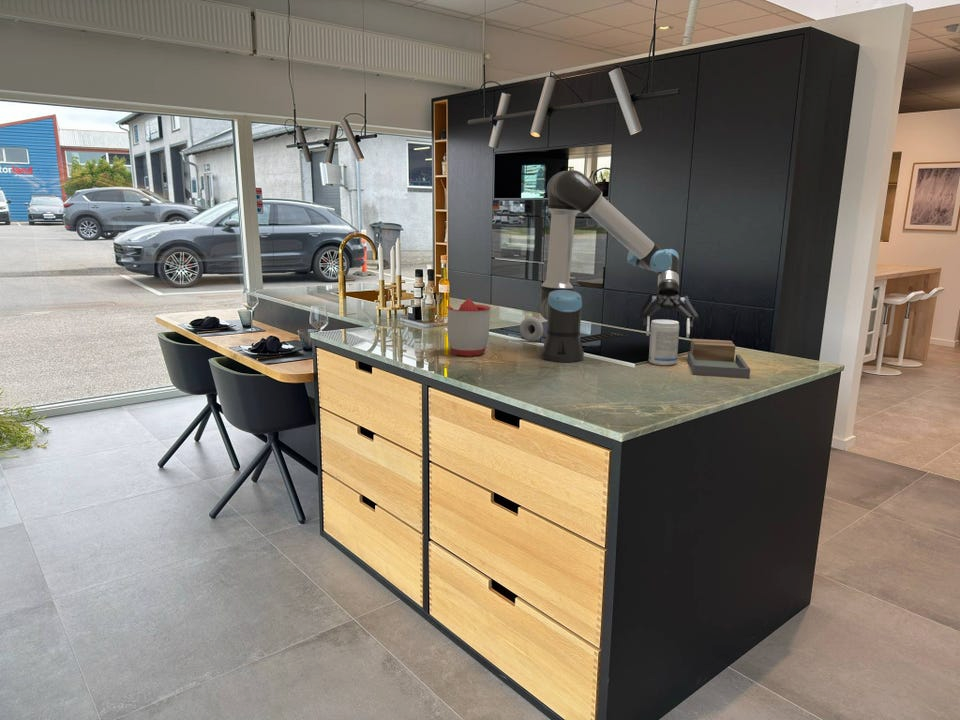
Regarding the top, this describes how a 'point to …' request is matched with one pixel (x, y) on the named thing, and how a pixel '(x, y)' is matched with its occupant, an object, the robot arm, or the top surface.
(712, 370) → the grey shallow rectangular tray
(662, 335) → the supplement tub
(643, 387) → the top surface
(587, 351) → the top surface
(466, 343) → the citrus juicer
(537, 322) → the donut
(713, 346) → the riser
